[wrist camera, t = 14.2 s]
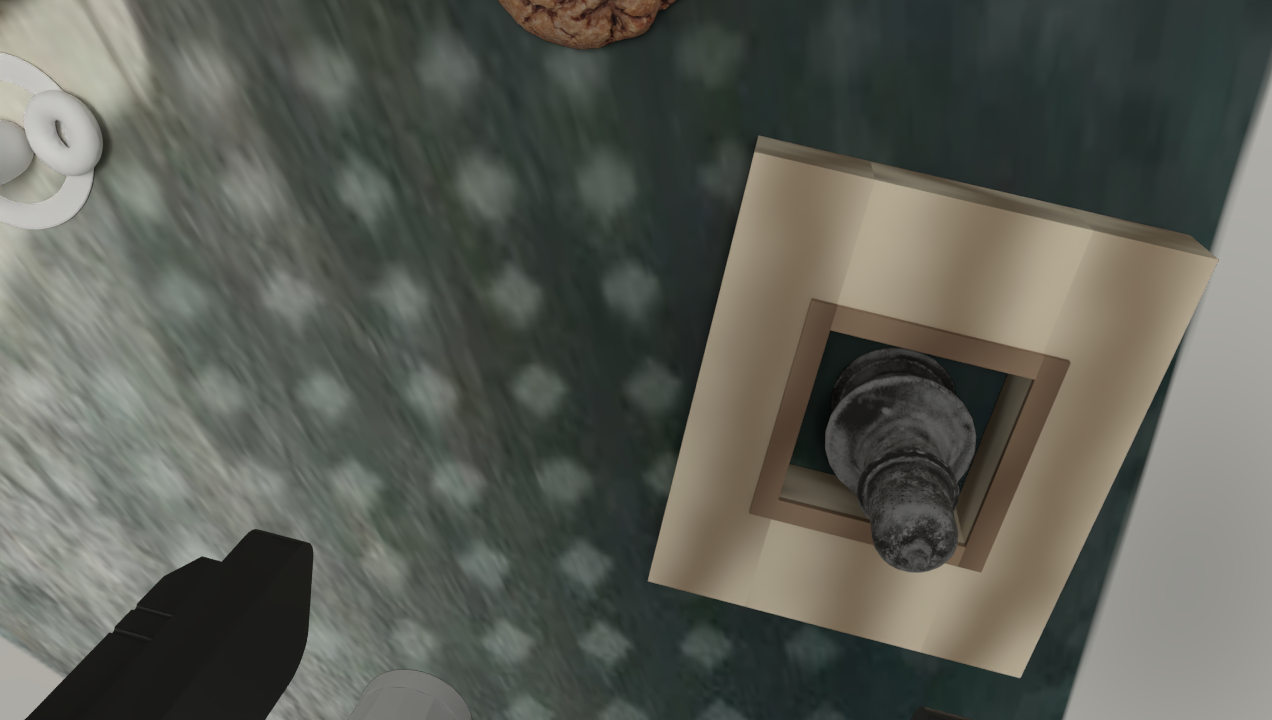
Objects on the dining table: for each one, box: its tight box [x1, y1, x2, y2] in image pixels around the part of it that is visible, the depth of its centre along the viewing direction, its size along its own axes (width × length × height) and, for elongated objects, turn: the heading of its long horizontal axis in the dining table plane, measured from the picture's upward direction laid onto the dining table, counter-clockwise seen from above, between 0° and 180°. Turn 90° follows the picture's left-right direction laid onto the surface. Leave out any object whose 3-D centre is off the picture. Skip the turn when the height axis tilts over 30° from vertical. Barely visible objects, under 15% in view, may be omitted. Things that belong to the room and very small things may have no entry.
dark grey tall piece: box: [825, 347, 976, 573], centre depth 38 cm, size 6×6×12 cm
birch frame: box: [648, 135, 1219, 678], centre depth 42 cm, size 17×20×3 cm
